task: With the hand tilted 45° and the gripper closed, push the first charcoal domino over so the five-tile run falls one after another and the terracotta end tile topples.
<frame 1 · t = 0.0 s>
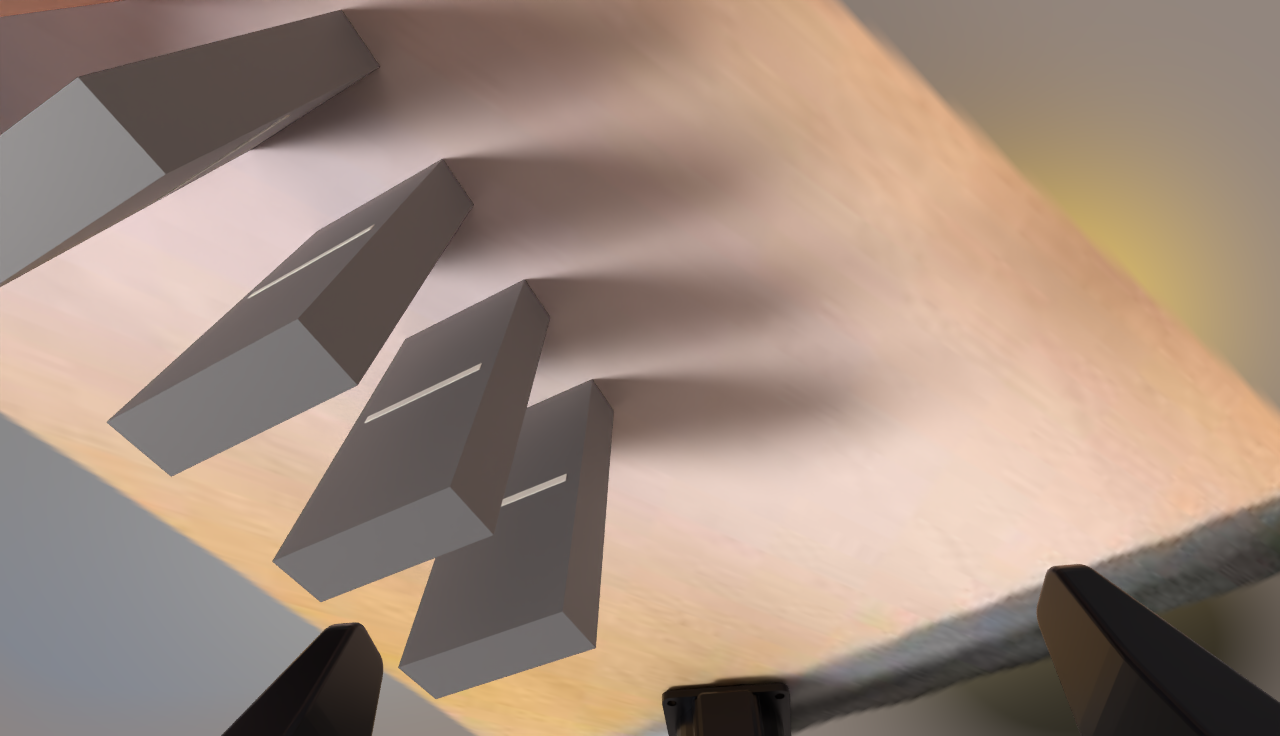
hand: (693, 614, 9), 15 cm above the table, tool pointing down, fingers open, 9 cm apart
domino 3: (394, 218, 21), on the table
domino 4: (292, 83, 19), on the table
domino 2: (476, 328, 24), on the table
domino 1: (545, 419, 26), on the table
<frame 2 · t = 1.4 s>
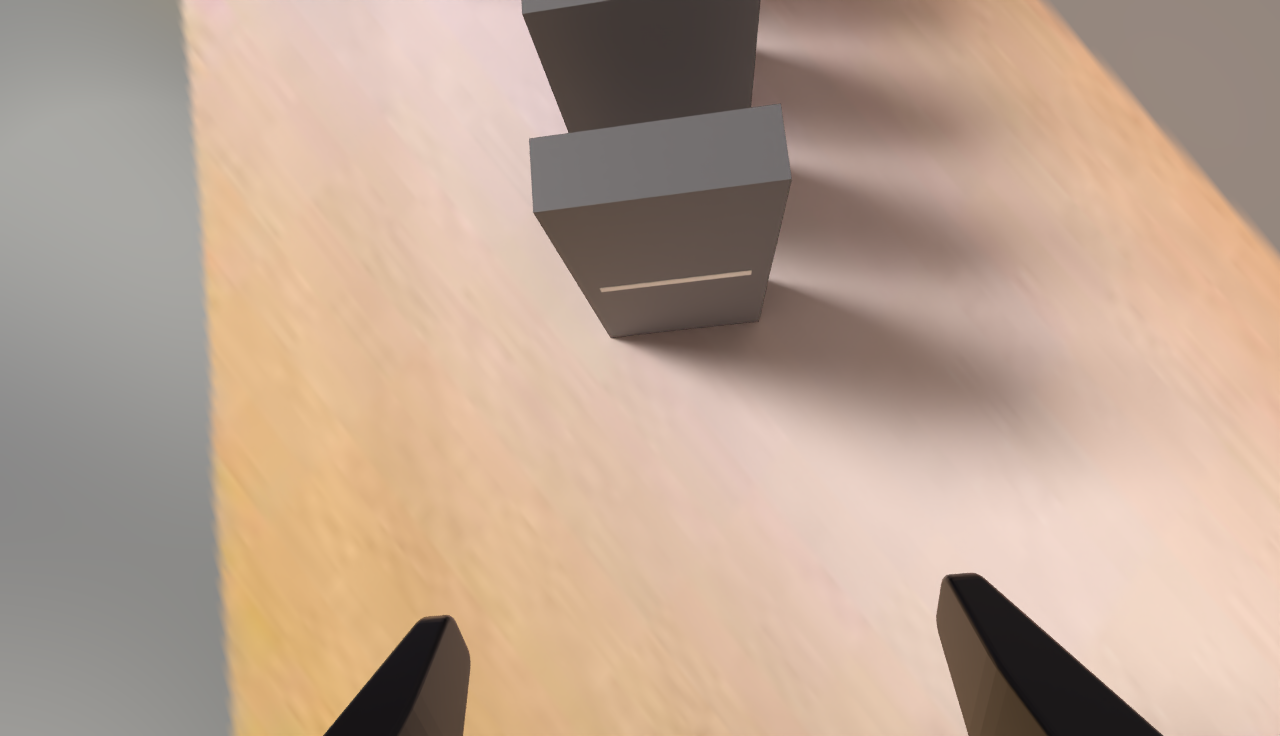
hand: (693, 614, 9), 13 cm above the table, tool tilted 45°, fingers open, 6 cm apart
domino 2: (668, 184, 24), on the table
domino 1: (681, 306, 23), on the table
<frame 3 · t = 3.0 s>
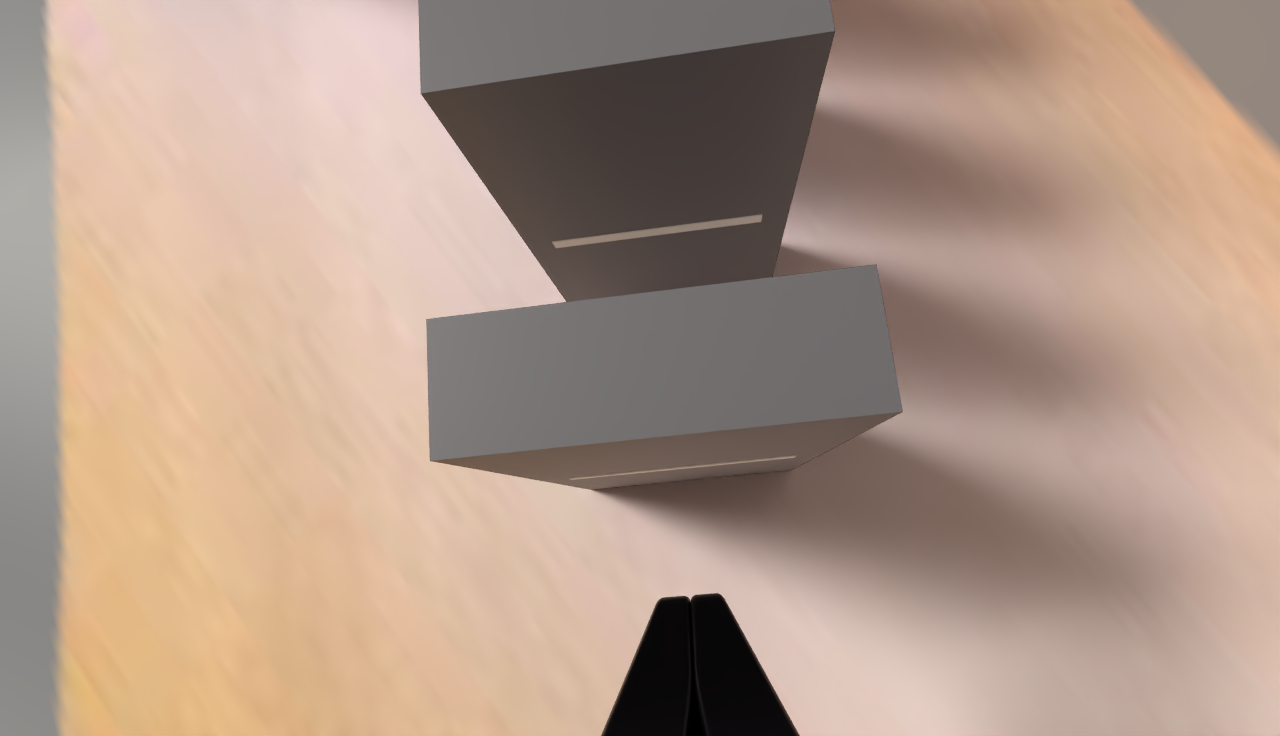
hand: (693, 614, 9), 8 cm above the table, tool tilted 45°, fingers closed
domino 2: (668, 278, 18), on the table
domino 1: (686, 447, 17), on the table
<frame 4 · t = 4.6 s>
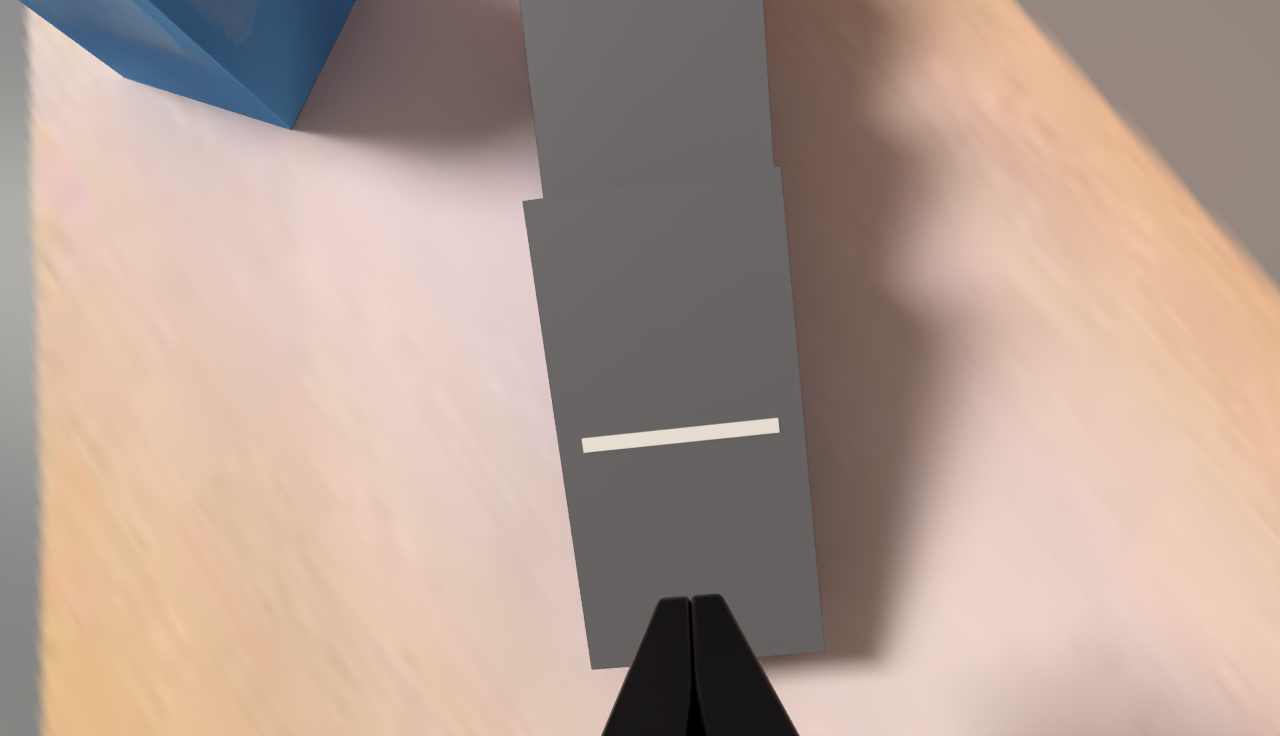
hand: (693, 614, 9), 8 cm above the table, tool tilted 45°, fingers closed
perfume bottle: (254, 22, 21), on the table
domino 2: (681, 430, 16), point 1 cm above the table, tilted 69°, touching domino 1, domino 3
domino 1: (705, 640, 15), point 1 cm above the table, tilted 69°, touching domino 2
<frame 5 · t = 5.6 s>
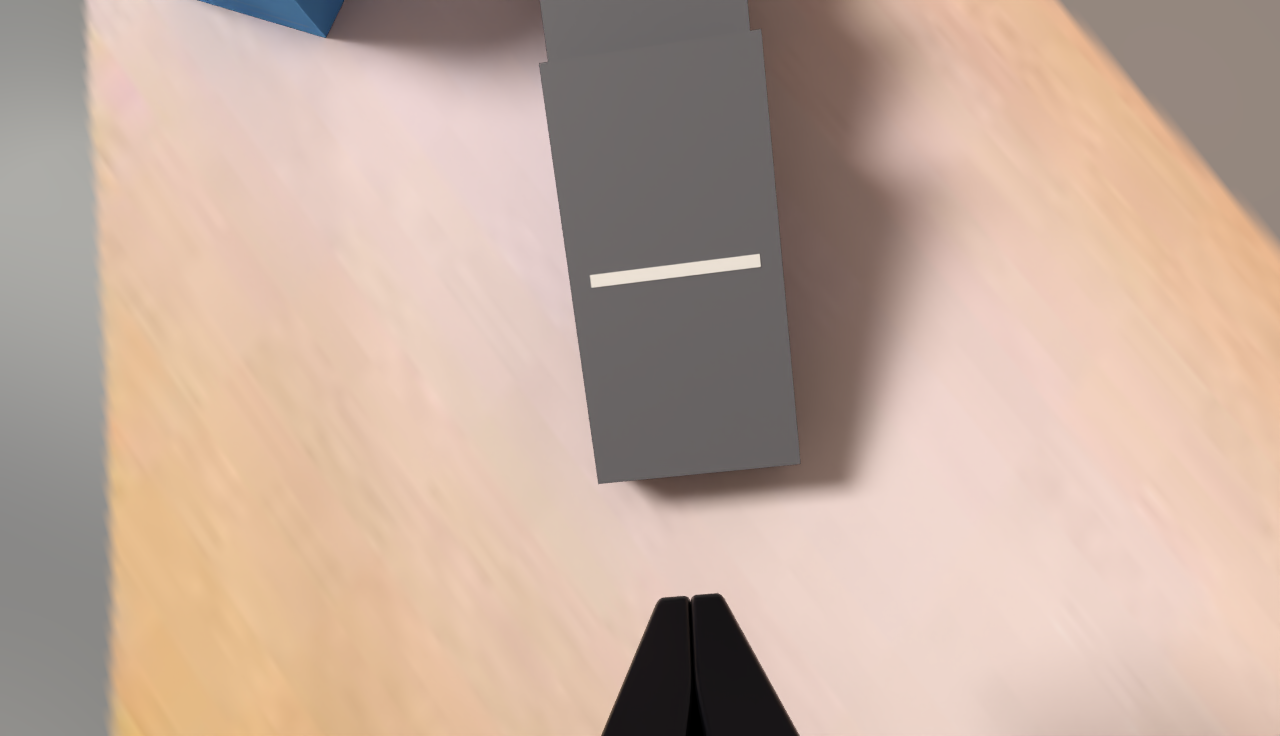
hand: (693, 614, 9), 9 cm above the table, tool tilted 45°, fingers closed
domino 2: (675, 288, 18), point 1 cm above the table, tilted 68°, touching domino 1, domino 3
domino 1: (697, 464, 17), point 1 cm above the table, tilted 69°, touching domino 2
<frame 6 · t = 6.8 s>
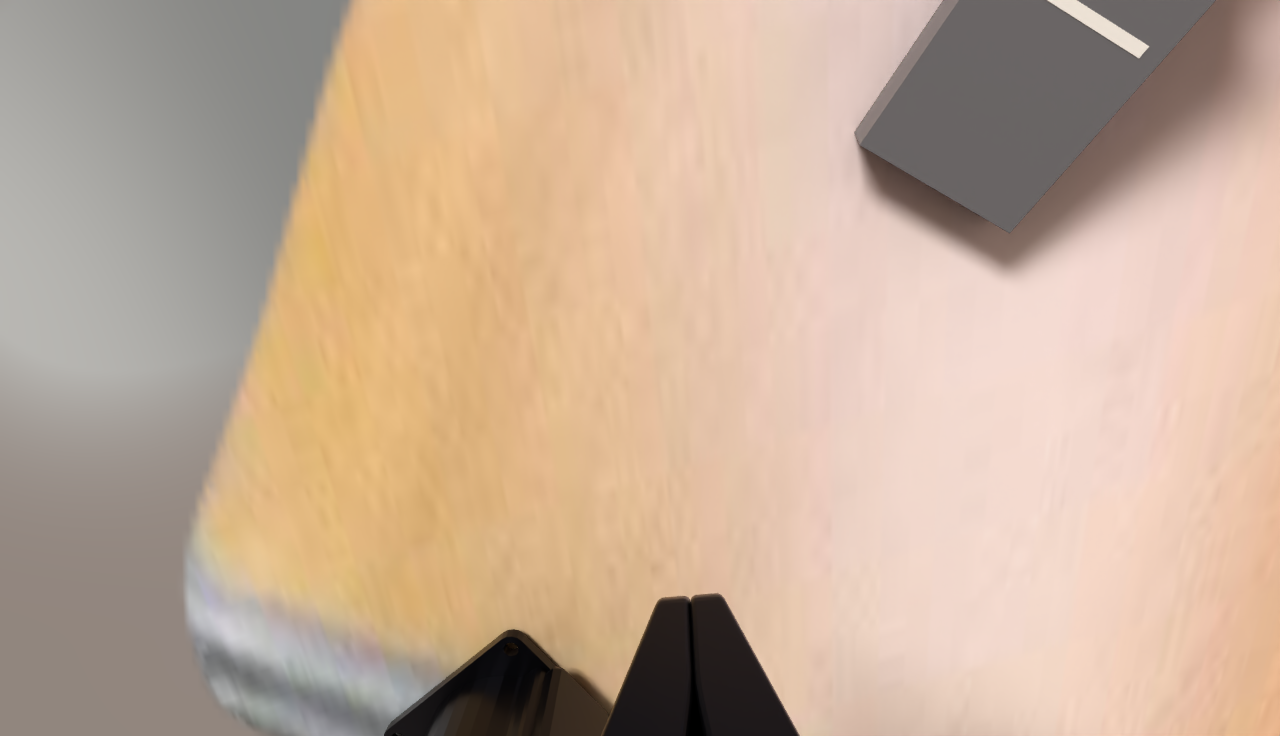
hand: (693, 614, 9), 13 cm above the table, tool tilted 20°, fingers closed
domino 1: (930, 181, 20), point 1 cm above the table, tilted 69°
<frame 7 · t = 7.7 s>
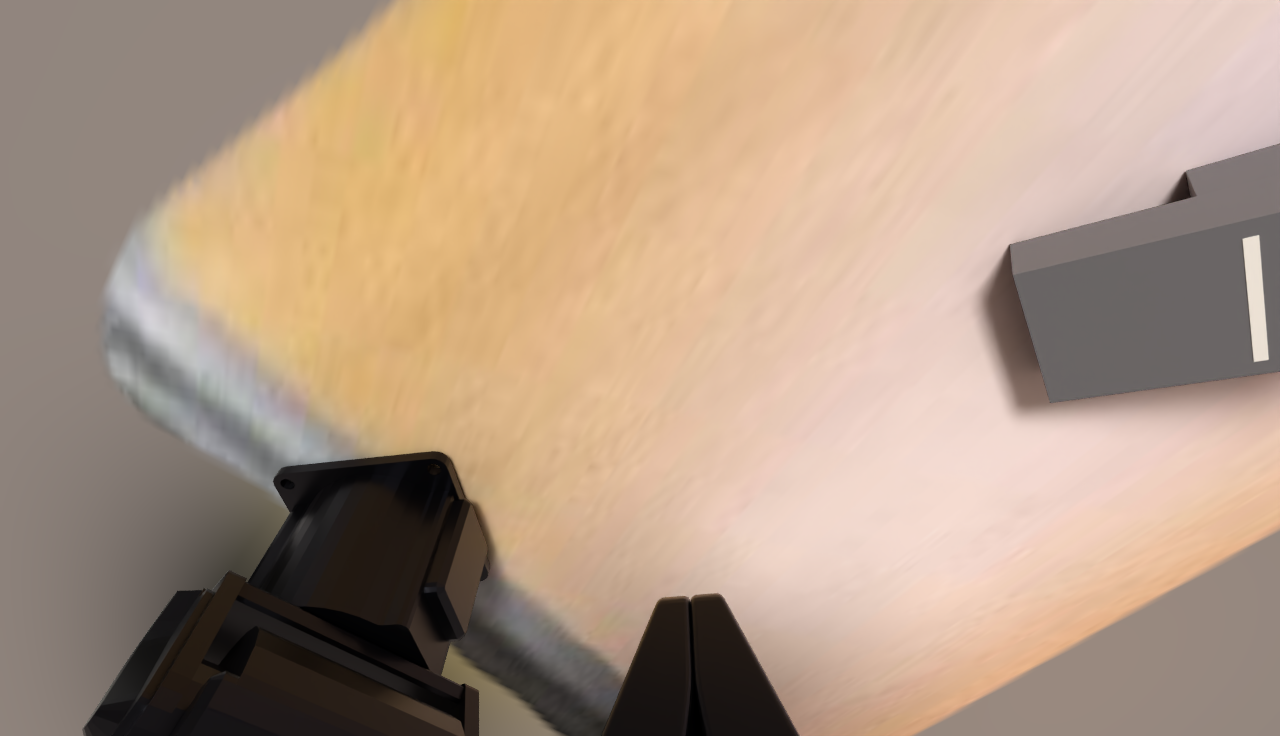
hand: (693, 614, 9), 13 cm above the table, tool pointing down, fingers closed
domino 2: (1204, 259, 19), point 1 cm above the table, tilted 68°, touching domino 3
domino 1: (1030, 326, 20), point 1 cm above the table, tilted 69°
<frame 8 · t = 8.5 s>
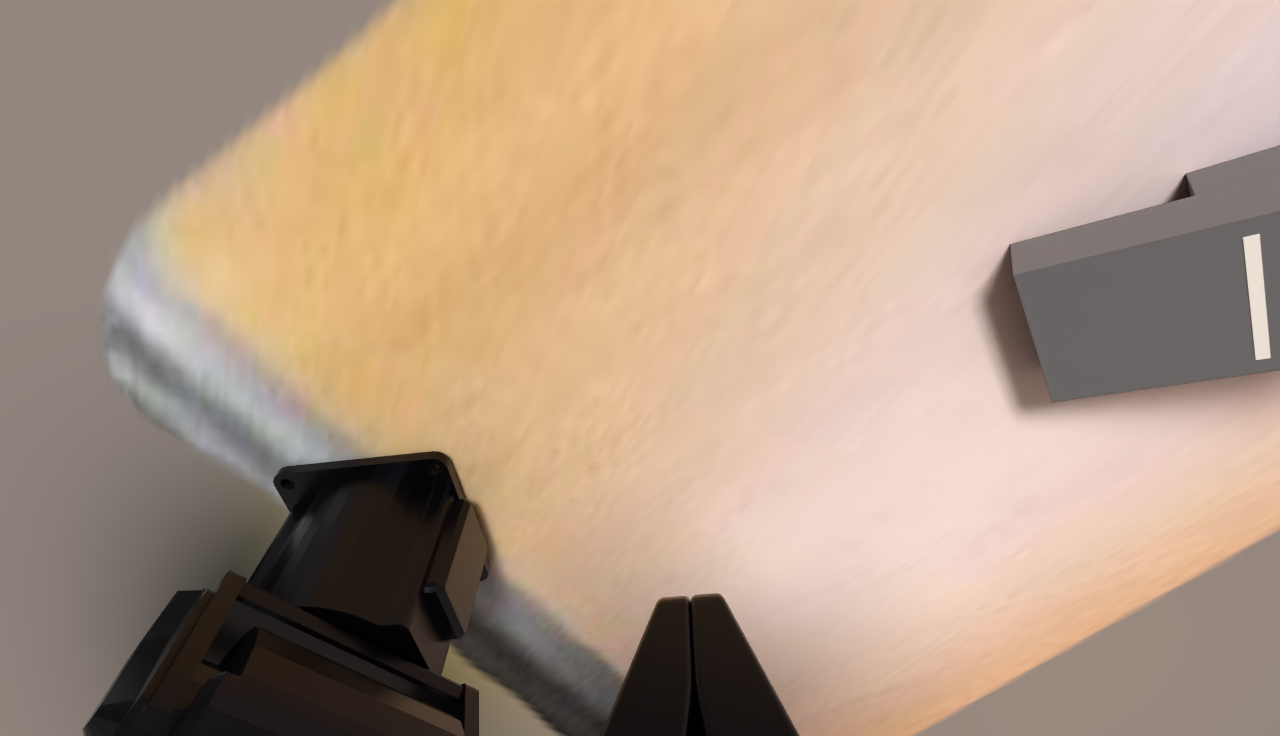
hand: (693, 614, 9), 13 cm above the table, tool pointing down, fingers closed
domino 2: (1206, 261, 19), point 1 cm above the table, tilted 68°, touching domino 1, domino 3
domino 1: (1031, 325, 20), point 1 cm above the table, tilted 69°, touching domino 2
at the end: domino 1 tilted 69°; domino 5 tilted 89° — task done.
